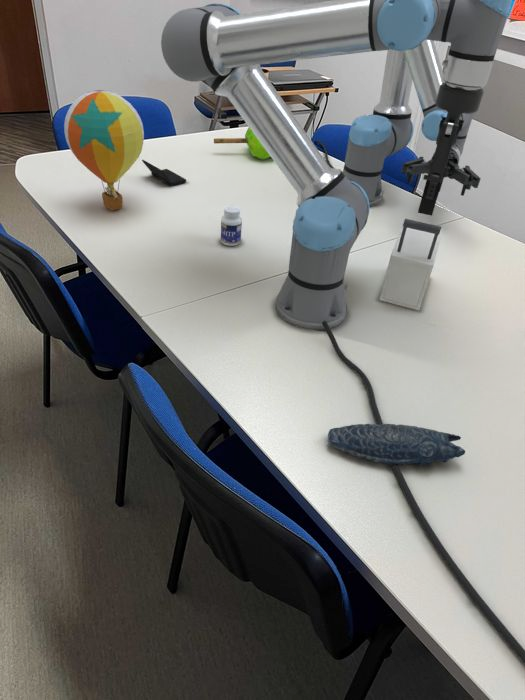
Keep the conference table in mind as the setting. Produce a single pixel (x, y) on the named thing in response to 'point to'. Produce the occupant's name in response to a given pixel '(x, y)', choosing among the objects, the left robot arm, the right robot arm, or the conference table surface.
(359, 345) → the conference table surface
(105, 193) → the toy
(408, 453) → the fish model
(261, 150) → the decorative tree
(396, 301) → the chest
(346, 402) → the conference table surface
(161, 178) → the black block with spike
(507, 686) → the conference table surface
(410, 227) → the lid
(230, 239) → the pill bottle
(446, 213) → the conference table surface
